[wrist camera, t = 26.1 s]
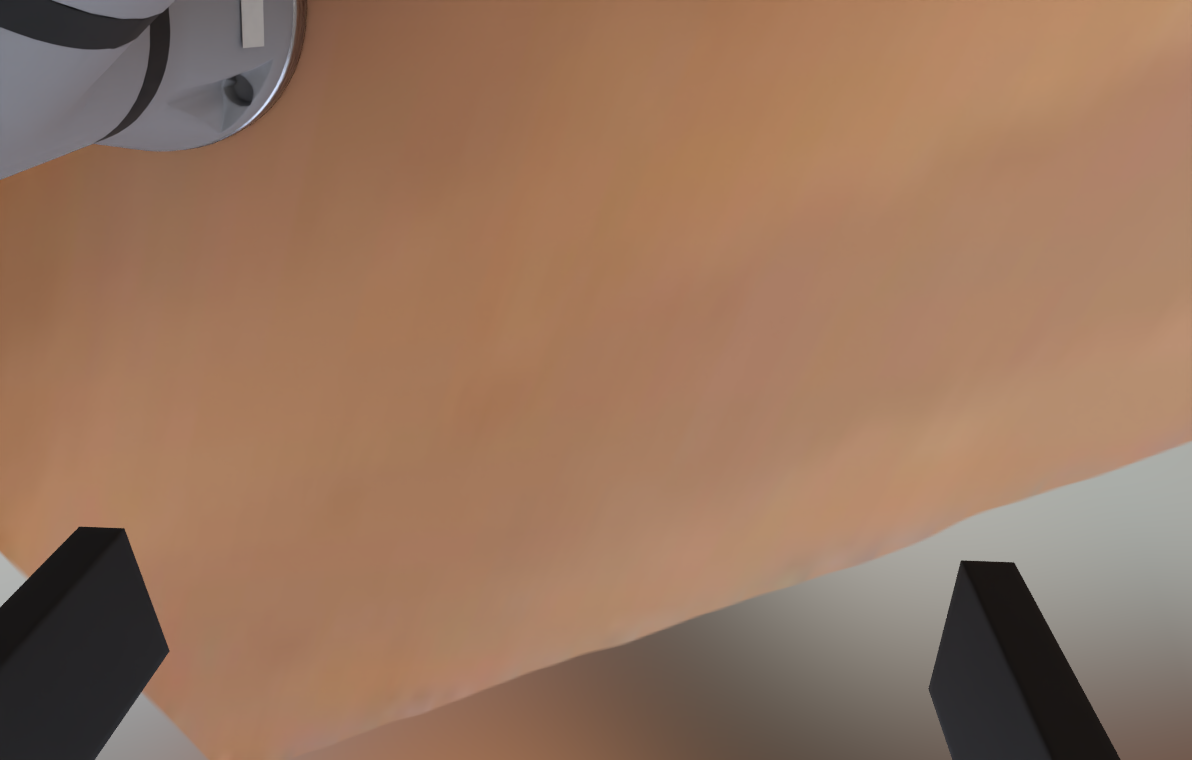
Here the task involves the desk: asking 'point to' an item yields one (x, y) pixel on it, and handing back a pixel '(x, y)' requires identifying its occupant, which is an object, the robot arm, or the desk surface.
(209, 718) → the desk surface
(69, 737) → the robot arm
